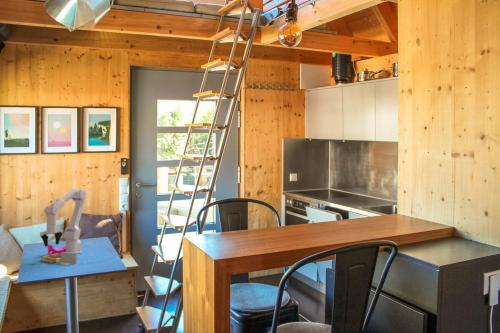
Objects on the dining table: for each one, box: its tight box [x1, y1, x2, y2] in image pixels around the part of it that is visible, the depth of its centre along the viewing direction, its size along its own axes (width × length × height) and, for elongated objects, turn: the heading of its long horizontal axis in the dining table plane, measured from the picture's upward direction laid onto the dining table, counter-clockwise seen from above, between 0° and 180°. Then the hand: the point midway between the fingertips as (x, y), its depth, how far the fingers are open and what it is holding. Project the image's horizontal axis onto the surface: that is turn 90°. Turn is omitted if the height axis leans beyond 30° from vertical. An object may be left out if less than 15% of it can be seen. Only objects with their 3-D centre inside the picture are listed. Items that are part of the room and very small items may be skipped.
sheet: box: [60, 252, 78, 264], centre depth 278 cm, size 1×10×6 cm, turn 79°
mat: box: [59, 262, 73, 266], centre depth 278 cm, size 9×8×1 cm
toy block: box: [47, 243, 66, 255], centre depth 304 cm, size 15×6×8 cm, turn 125°
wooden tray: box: [40, 253, 61, 265], centre depth 285 cm, size 13×14×3 cm
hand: (51, 245), depth 284 cm, fingers open, 7 cm apart
